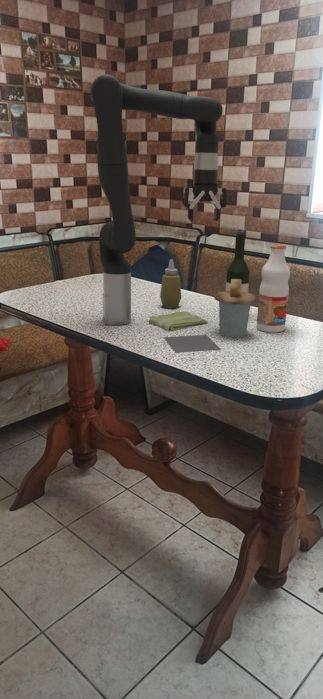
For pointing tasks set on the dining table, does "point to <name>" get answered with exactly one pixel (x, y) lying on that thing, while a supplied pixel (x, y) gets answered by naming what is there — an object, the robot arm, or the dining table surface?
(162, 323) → the washcloth
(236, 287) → the lid
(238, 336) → the grey-blue cup
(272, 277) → the fruit juice
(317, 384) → the dining table surface
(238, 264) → the wine bottle
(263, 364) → the dining table surface
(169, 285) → the squeeze bottle
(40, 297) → the dining table surface
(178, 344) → the mat
